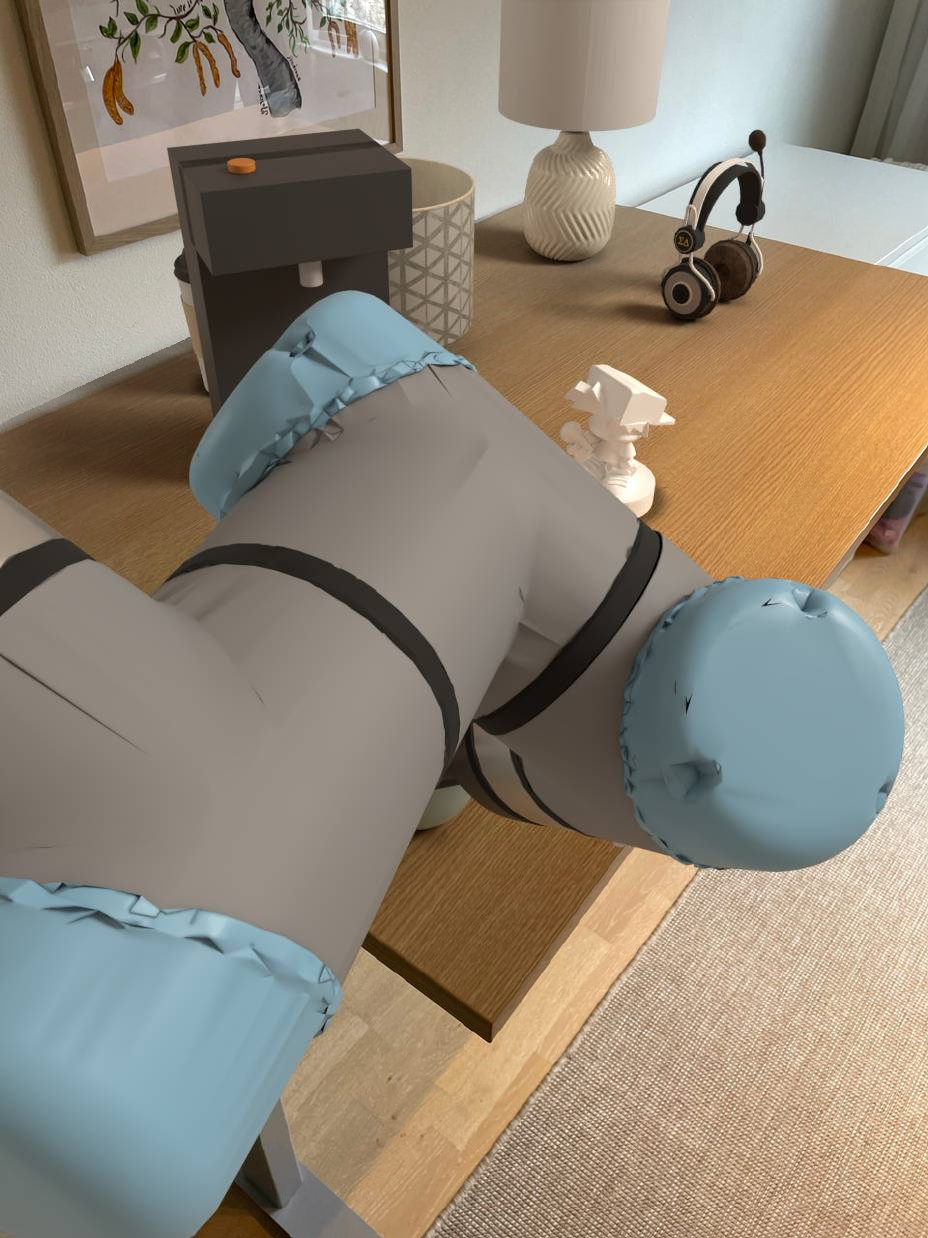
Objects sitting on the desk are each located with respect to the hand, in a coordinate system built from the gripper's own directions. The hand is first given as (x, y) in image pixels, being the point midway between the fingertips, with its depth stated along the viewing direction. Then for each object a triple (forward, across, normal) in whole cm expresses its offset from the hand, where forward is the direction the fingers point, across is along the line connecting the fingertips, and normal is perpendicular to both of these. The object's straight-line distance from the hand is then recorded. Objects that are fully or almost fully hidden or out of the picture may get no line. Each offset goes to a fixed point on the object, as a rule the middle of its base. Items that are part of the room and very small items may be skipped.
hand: (422, 733), depth 58 cm
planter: (+51, +22, +41) cm, 69 cm away
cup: (+5, 0, -4) cm, 7 cm away
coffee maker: (+32, +6, +22) cm, 39 cm away
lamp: (+64, +55, +54) cm, 101 cm away
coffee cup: (+49, +3, +39) cm, 63 cm away
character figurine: (+24, +30, +14) cm, 41 cm away
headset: (+47, +63, +37) cm, 87 cm away
